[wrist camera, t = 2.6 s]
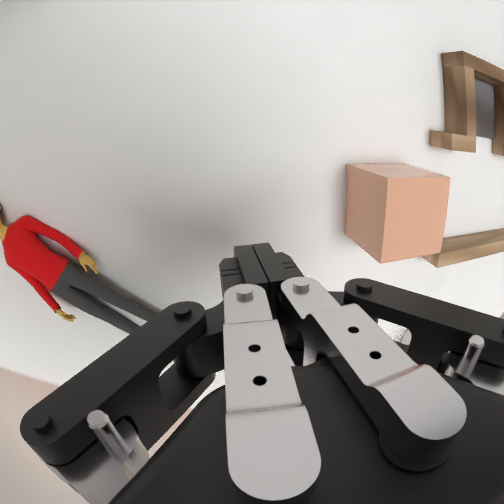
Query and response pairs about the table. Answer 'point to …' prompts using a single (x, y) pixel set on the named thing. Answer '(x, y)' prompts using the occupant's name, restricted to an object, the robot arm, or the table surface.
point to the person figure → (64, 274)
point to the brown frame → (470, 138)
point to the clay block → (395, 210)
